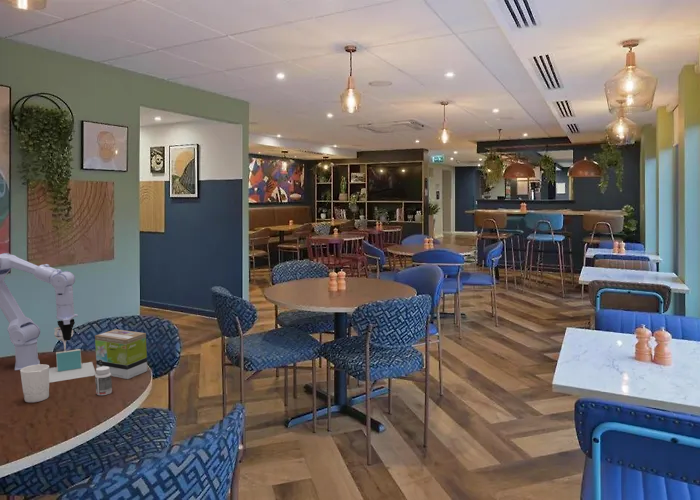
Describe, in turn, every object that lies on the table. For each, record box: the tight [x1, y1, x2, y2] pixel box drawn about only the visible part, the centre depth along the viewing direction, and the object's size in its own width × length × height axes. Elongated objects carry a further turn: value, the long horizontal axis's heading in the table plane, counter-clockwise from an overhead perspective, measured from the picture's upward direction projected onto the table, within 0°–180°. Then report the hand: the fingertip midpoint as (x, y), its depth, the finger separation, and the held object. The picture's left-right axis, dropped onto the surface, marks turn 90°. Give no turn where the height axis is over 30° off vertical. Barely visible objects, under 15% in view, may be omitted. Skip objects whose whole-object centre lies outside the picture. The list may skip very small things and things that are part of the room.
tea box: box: [94, 328, 148, 380], centre depth 193 cm, size 15×10×15 cm, turn 68°
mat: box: [49, 361, 96, 384], centre depth 194 cm, size 18×16×1 cm
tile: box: [55, 348, 82, 372], centre depth 196 cm, size 1×8×7 cm, turn 121°
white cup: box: [19, 363, 50, 403], centre depth 169 cm, size 8×8×10 cm
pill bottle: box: [94, 366, 113, 396], centre depth 173 cm, size 5×5×8 cm
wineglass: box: [53, 326, 74, 351], centre depth 213 cm, size 7×7×12 cm
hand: (67, 339), depth 200 cm, fingers closed
